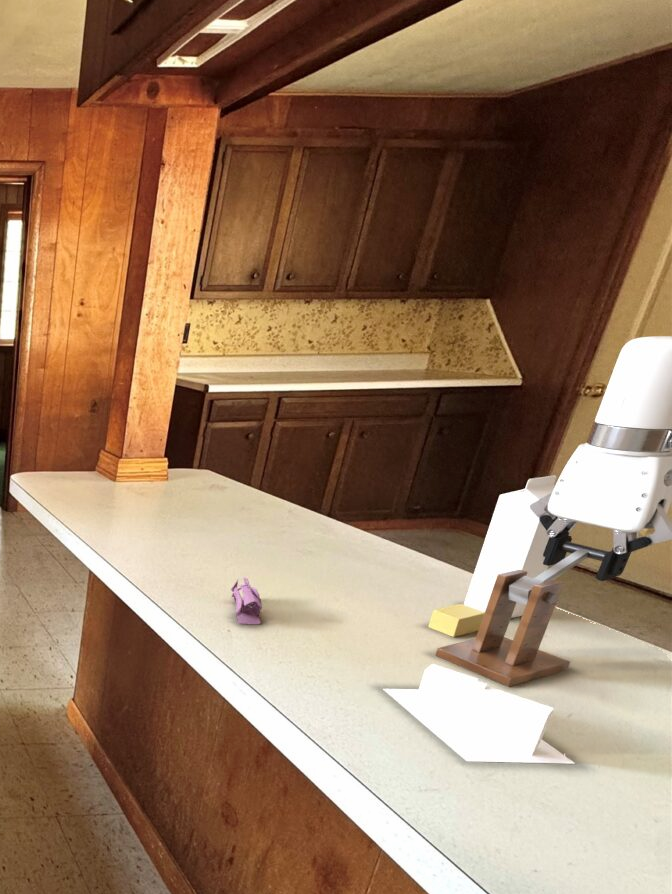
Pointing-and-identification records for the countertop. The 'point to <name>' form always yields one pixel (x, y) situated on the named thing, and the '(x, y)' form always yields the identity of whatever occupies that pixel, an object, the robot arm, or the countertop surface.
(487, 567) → the milk
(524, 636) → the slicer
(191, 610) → the countertop surface
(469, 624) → the butter
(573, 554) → the lever
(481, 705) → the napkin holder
